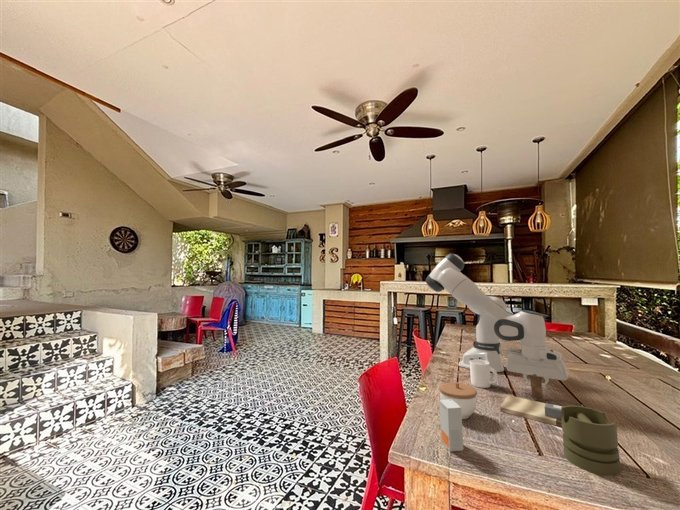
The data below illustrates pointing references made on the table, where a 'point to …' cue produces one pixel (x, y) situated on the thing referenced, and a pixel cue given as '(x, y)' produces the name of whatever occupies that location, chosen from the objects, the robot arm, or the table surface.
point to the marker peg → (536, 387)
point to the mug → (481, 373)
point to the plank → (528, 410)
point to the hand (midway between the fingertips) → (536, 386)
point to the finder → (553, 411)
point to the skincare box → (451, 425)
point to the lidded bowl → (460, 396)
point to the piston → (590, 440)
